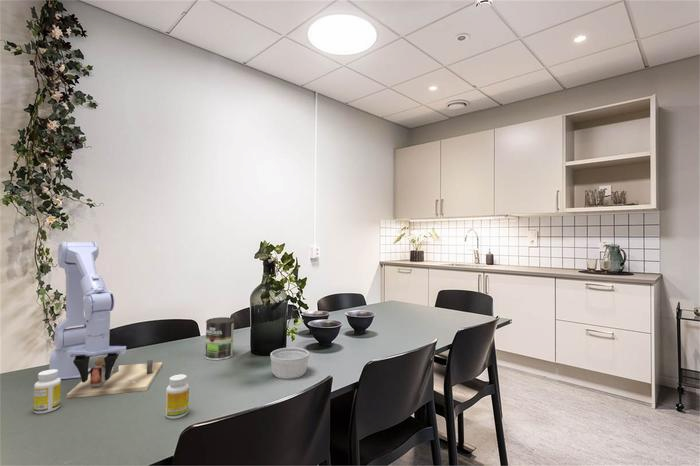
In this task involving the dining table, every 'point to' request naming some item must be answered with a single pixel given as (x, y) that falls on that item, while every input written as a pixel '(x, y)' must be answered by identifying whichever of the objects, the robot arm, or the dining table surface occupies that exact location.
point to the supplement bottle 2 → (177, 397)
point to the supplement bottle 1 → (47, 392)
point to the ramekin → (289, 362)
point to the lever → (100, 375)
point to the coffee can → (219, 338)
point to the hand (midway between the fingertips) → (96, 380)
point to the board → (119, 380)
